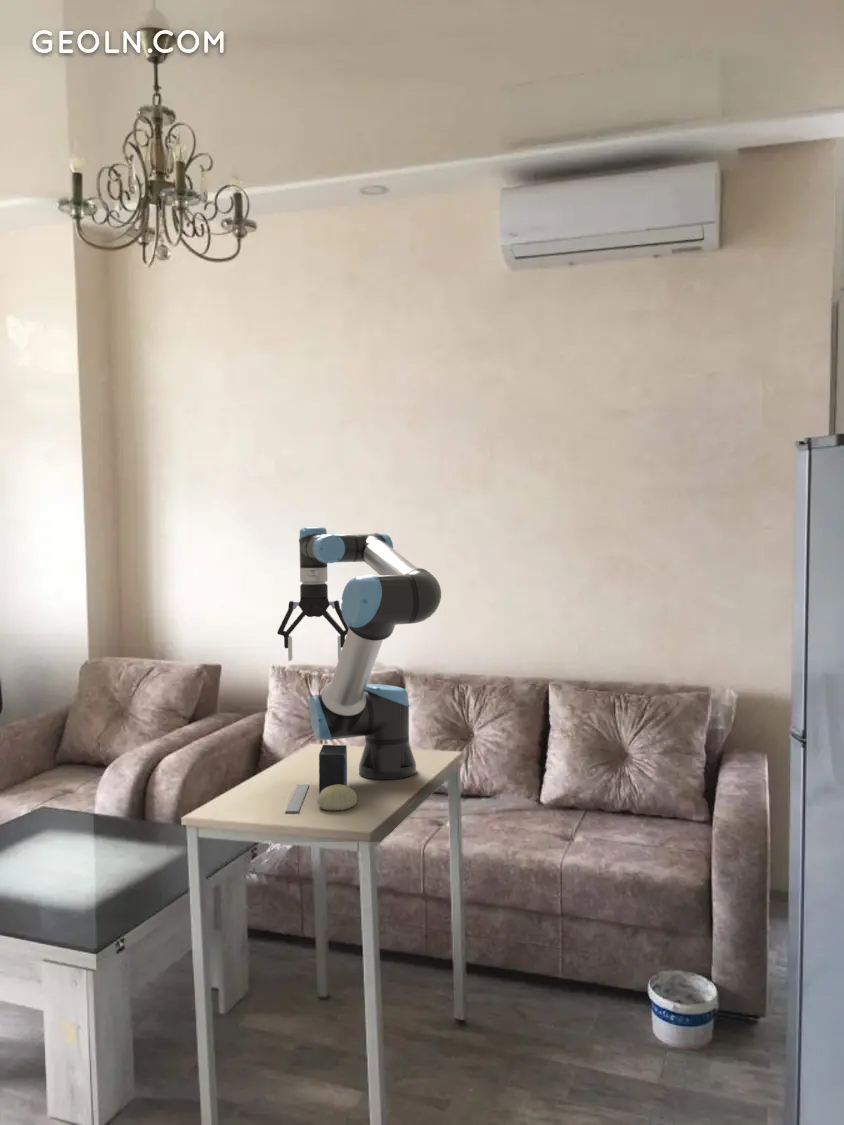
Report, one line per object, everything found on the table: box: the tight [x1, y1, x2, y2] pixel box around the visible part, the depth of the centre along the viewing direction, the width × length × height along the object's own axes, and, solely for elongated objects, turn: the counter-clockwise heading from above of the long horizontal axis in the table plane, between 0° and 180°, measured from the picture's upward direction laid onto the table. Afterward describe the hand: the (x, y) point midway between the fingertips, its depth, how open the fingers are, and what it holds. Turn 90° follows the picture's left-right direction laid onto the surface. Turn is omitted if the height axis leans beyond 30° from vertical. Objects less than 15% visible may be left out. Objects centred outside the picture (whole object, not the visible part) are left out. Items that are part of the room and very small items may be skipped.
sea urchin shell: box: [317, 784, 358, 812], centre depth 223 cm, size 9×8×8 cm
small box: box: [318, 744, 348, 795], centre depth 237 cm, size 11×6×10 cm, turn 1°
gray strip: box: [284, 783, 310, 814], centre depth 230 cm, size 3×23×1 cm, turn 1°
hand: (315, 659), depth 265 cm, fingers open, 13 cm apart
